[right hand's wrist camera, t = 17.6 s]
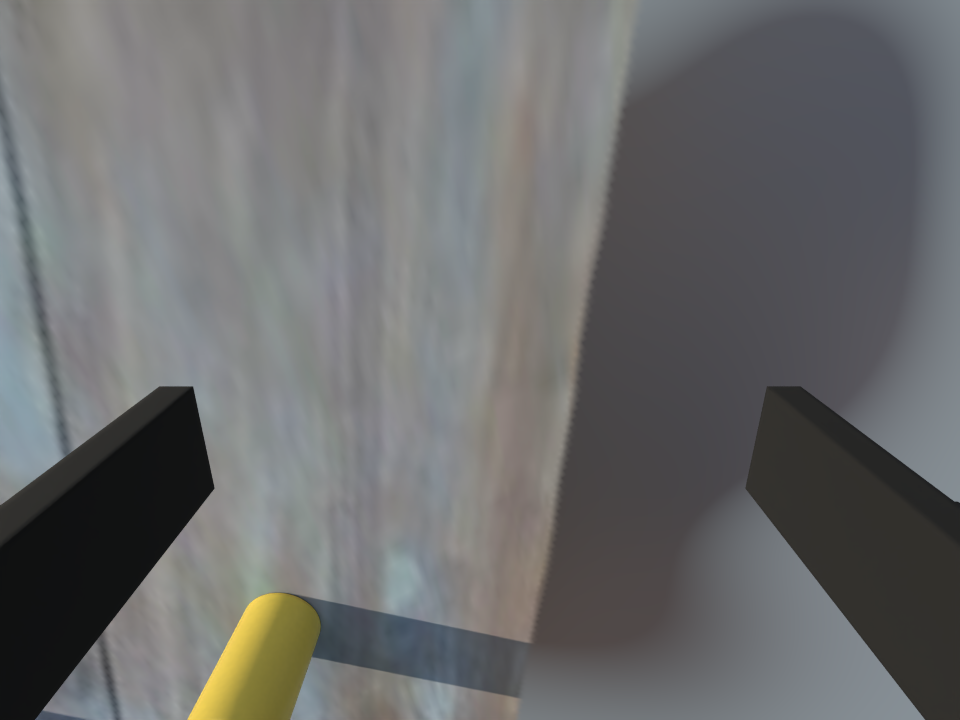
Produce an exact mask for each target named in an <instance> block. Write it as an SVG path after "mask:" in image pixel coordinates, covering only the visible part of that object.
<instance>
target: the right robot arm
mask: <svg viewBox="0 0 960 720" xmlns="http://www.w3.org/2000/svg"><path fill="white" fill-rule="evenodd" d="M213 490H214V484H213V479H212V474H211V469H210V465H209V460H208V455H207V450H206V446H205V441H204V436H203V432H202V427H201V422H200V417H199V413H198V408H197V403H196V398H195V394H194V389H193V387H158V388H157V389H156V390H154V391H153V392H152V393H150V394H149V395H148V396H146V397H145V398H144V399H142V400H141V401H140V402H138V403H137V404H135V405H134V406H133V407H131V408H130V409H129V410H127V411H126V412H125V413H123V414H122V415H121V416H119V417H118V418H117V419H115V420H114V421H113V422H111V423H110V424H109V425H107V426H106V427H105V428H103V429H102V430H101V431H99V432H98V433H97V434H95V435H94V436H93V437H91V438H90V439H89V440H87V441H86V442H85V443H83V444H82V445H81V446H79V447H78V448H77V449H75V450H74V451H73V452H71V453H70V454H69V455H67V456H66V457H65V458H63V459H62V460H61V461H59V462H58V463H57V464H55V465H54V466H53V467H51V468H50V469H49V470H47V471H46V472H45V473H43V474H42V475H41V476H39V477H38V478H37V479H35V480H34V481H33V482H31V483H30V484H29V485H27V486H26V487H25V488H23V489H22V490H21V491H19V492H18V493H17V494H15V495H14V496H13V497H11V498H10V499H9V500H7V501H6V502H5V503H3V504H2V505H0V720H35V719H36V718H37V716H38V715H39V714H40V712H41V711H42V710H43V709H44V707H45V706H46V705H47V703H48V702H49V701H50V699H51V698H52V697H53V696H54V694H55V693H56V692H57V690H58V689H59V688H60V687H61V685H62V684H63V683H64V681H65V680H66V679H67V678H68V676H69V675H70V674H71V672H72V671H73V670H74V669H75V667H76V666H77V665H78V663H79V662H80V661H81V660H82V658H83V657H84V656H85V654H86V653H87V652H88V651H89V649H90V648H91V647H92V645H93V644H94V643H95V642H96V640H97V639H98V638H99V636H100V635H101V634H102V633H103V631H104V630H105V629H106V627H107V626H108V625H109V624H110V622H111V621H112V620H113V618H114V617H115V616H116V615H117V613H118V612H119V611H120V609H121V608H122V607H123V606H124V604H125V603H126V602H127V600H128V599H129V598H130V597H131V595H132V594H133V593H134V591H135V590H136V589H137V588H138V586H139V585H140V584H141V582H142V581H143V580H144V578H145V577H146V576H147V575H148V573H149V572H150V571H151V569H152V568H153V567H154V566H155V564H156V563H157V562H158V560H159V559H160V558H161V557H162V555H163V554H164V553H165V551H166V550H167V549H168V548H169V546H170V545H171V544H172V542H173V541H174V540H175V539H176V537H177V536H178V535H179V533H180V532H181V531H182V530H183V528H184V527H185V526H186V524H187V523H188V522H189V521H190V519H191V518H192V517H193V515H194V514H195V513H196V512H197V510H198V509H199V508H200V506H201V505H202V504H203V503H204V501H205V500H206V499H207V497H208V496H209V495H210V494H211V492H212V491H213ZM746 490H747V491H748V492H749V494H750V495H751V496H752V497H753V499H754V500H755V501H756V503H757V504H758V505H759V506H760V508H761V509H762V510H763V511H764V513H765V514H766V515H767V517H768V518H769V519H770V521H771V522H772V523H773V524H774V526H775V527H776V528H777V530H778V531H779V532H780V533H781V535H782V536H783V537H784V539H785V540H786V541H787V542H788V544H789V545H790V546H791V548H792V549H793V550H794V551H795V553H796V554H797V555H798V557H799V558H800V559H801V560H802V562H803V563H804V564H805V566H806V567H807V568H808V569H809V571H810V572H811V573H812V575H813V576H814V577H815V578H816V580H817V581H818V582H819V584H820V585H821V586H822V588H823V589H824V590H825V591H826V593H827V594H828V595H829V597H830V598H831V599H832V600H833V602H834V603H835V604H836V605H837V607H838V608H839V609H840V611H841V612H842V613H843V615H844V616H845V617H846V618H847V620H848V621H849V622H850V624H851V625H852V626H853V627H854V629H855V630H856V631H857V633H858V634H859V635H860V636H861V638H862V639H863V640H864V642H865V643H866V644H867V645H868V647H869V648H870V649H871V651H872V652H873V653H874V654H875V656H876V657H877V658H878V660H879V661H880V662H881V663H882V665H883V666H884V667H885V669H886V670H887V671H888V672H889V674H890V675H891V676H892V678H893V679H894V680H895V681H896V683H897V684H898V685H899V687H900V688H901V689H902V690H903V692H904V693H905V694H906V696H907V697H908V698H909V699H910V701H911V702H912V703H913V705H914V706H915V707H916V708H917V710H918V711H919V712H920V713H921V715H922V716H923V717H924V719H925V720H960V503H959V502H954V501H953V500H951V499H950V498H949V497H947V496H946V495H945V494H943V493H942V492H941V491H939V490H938V489H937V488H935V487H934V486H933V485H931V484H930V483H929V482H927V481H926V480H925V479H923V478H922V477H921V476H919V475H918V474H917V473H915V472H914V471H913V470H911V469H910V468H909V467H907V466H906V465H905V464H903V463H902V462H901V461H899V460H898V459H897V458H895V457H894V456H893V455H891V454H890V453H889V452H887V451H886V450H885V449H883V448H882V447H881V446H879V445H878V444H877V443H875V442H874V441H873V440H871V439H870V438H868V437H867V436H866V435H865V434H863V433H862V432H861V431H859V430H858V429H857V428H855V427H854V426H853V425H851V424H850V423H849V422H847V421H846V420H845V419H843V418H842V417H841V416H839V415H838V414H836V413H835V412H834V411H832V410H831V409H830V408H829V407H827V406H826V405H824V404H823V403H822V402H820V401H819V400H818V399H816V398H815V397H814V396H812V395H811V394H810V393H808V392H807V391H806V390H804V389H803V388H802V387H767V389H766V394H765V398H764V403H763V408H762V413H761V418H760V422H759V427H758V432H757V436H756V441H755V446H754V450H753V455H752V460H751V465H750V470H749V474H748V479H747V484H746Z"/></svg>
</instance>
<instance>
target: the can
mask: <svg viewBox="0 0 960 720" xmlns="http://www.w3.org/2000/svg"><path fill="white" fill-rule="evenodd" d="M320 630H321V624H320V619H319V616H318V614H317V613H316V611H315V610H314V608H313V607H312V606H311V605H310V604H308V603H307V602H306V601H304V600H302V599H301V598H299V597H296V596H293V595H290V594H285V593H270V594H266V595H263V596H260V597H258V598H256V599H255V600H253V601H252V602H251V603H250V604H249V605H248V607H247V608H246V610H245V612H244V614H243V616H242V618H241V620H240V621H239V623H238V625H237V627H236V629H235V631H234V633H233V635H232V637H231V638H230V640H229V642H228V644H227V646H226V648H225V650H224V652H223V654H222V655H221V657H220V659H219V661H218V663H217V665H216V667H215V669H214V671H213V672H212V674H211V676H210V678H209V680H208V682H207V684H206V686H205V688H204V689H203V691H202V693H201V695H200V697H199V699H198V701H197V703H196V705H195V706H194V708H193V710H192V712H191V714H190V716H189V718H188V720H290V718H291V715H292V712H293V710H294V707H295V704H296V701H297V698H298V695H299V692H300V689H301V686H302V683H303V681H304V678H305V675H306V672H307V669H308V666H309V663H310V660H311V657H312V654H313V652H314V649H315V646H316V643H317V640H318V637H319V634H320Z"/></svg>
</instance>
